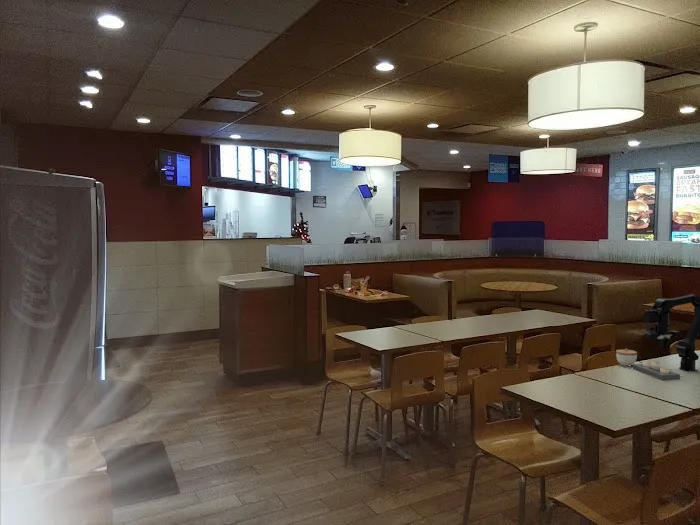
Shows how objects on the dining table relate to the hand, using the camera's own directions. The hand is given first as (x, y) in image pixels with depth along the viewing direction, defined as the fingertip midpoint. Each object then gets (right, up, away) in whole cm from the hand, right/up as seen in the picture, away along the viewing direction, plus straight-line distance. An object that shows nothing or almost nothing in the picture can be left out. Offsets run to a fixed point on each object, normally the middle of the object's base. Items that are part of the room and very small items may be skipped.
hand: (662, 350), depth 303 cm
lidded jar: (-12, -11, +16) cm, 23 cm away
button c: (-6, -12, -12) cm, 18 cm away
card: (+1, -12, -4) cm, 12 cm away
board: (-7, -12, -5) cm, 14 cm away
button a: (-7, -11, +2) cm, 13 cm away
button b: (-7, -10, -5) cm, 13 cm away
